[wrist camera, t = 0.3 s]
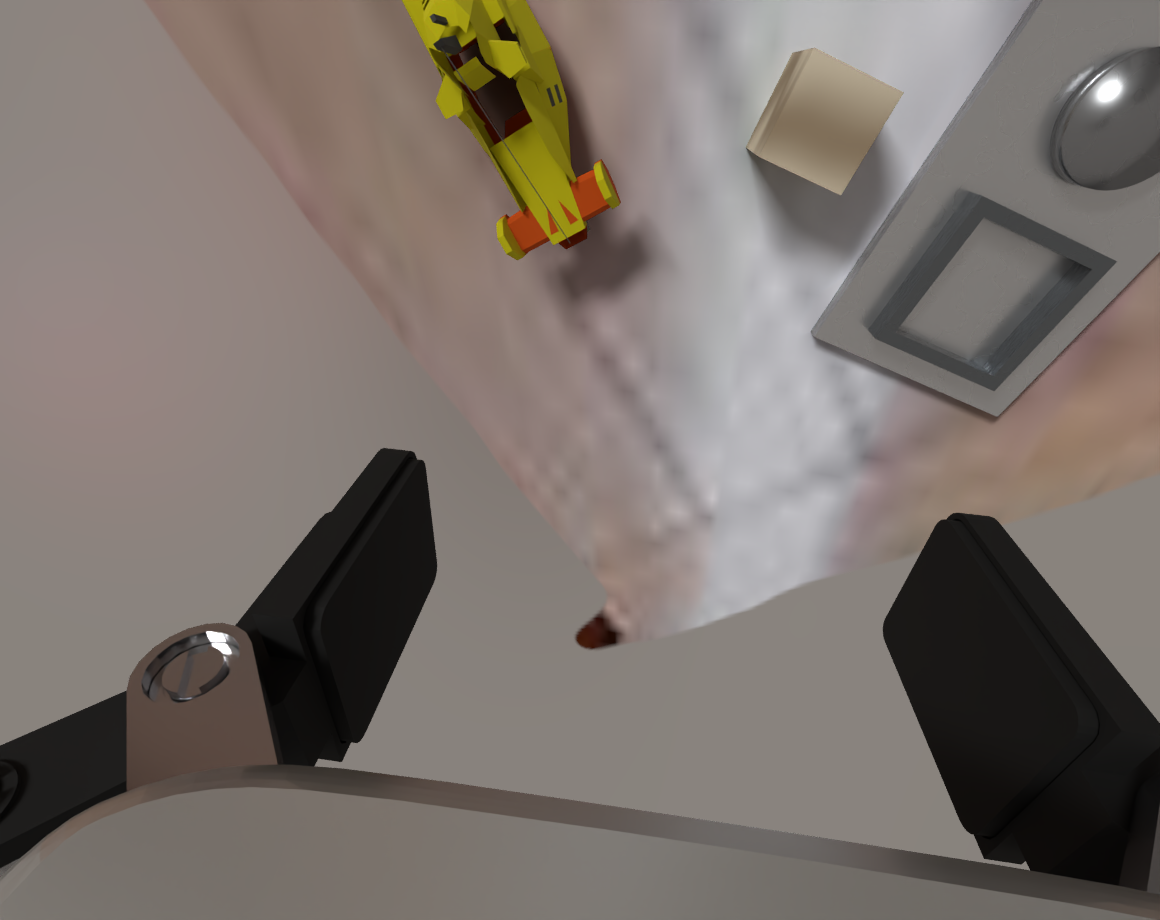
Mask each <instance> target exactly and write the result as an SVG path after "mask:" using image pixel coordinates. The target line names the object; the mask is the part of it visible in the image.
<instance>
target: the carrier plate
mask: <svg viewBox="0 0 1160 920" xmlns="http://www.w3.org/2000/svg"><path fill="white" fill-rule="evenodd" d="M1159 252H1160V0H1033V1H1032V3H1031V4H1030V6H1029V7H1028V8H1027V10H1026V11H1025V13H1024V14H1023V16H1022V17H1021V19H1020V20H1019V22H1018V23H1017V25H1016V26H1015V28H1014V29H1013V31H1012V32H1011V34H1010V35H1009V37H1008V38H1007V40H1006V41H1005V43H1004V44H1003V46H1002V47H1001V49H1000V50H999V52H998V53H997V55H996V56H995V58H994V59H993V61H992V62H991V64H990V65H989V67H988V68H987V70H986V71H985V73H984V74H983V75H982V77H981V78H980V80H979V81H978V83H977V84H976V86H975V87H974V89H973V90H972V92H971V93H970V95H969V96H968V98H967V99H966V101H965V102H964V104H963V105H962V107H961V108H960V110H959V111H958V113H957V114H956V116H955V117H954V119H953V120H952V122H951V123H950V125H949V126H948V128H947V129H946V131H945V132H944V134H943V135H942V137H941V138H940V140H939V141H938V143H937V144H936V145H935V147H934V148H933V150H932V151H931V153H930V154H929V156H928V157H927V159H926V160H925V162H924V163H923V165H922V166H921V168H920V169H919V171H918V172H917V174H916V175H915V177H914V178H913V180H912V181H911V183H910V184H909V186H908V187H907V189H906V190H905V192H904V193H903V195H902V196H901V198H900V199H899V201H898V202H897V204H896V205H895V207H894V208H893V210H892V211H891V213H890V214H889V215H888V217H887V218H886V220H885V221H884V223H883V224H882V226H881V227H880V229H879V230H878V232H877V233H876V235H875V236H874V238H873V239H872V241H871V242H870V244H869V245H868V247H867V248H866V250H865V251H864V253H863V254H862V256H861V257H860V259H859V260H858V262H857V263H856V265H855V266H854V268H853V269H852V271H851V272H850V274H849V275H848V277H847V278H846V280H845V281H844V282H843V284H842V285H841V287H840V288H839V290H838V291H837V293H836V294H835V296H834V297H833V299H832V300H831V302H830V303H829V305H828V306H827V308H826V309H825V311H824V312H823V314H822V315H821V317H820V318H819V320H818V321H817V323H816V324H815V326H814V327H813V329H812V330H811V332H812V334H813V336H814V337H815V338H818V339H820V340H822V341H825V342H827V343H829V344H832V345H834V346H836V347H838V348H841V349H843V350H845V351H848V352H850V353H852V354H854V355H857V356H859V357H861V358H864V359H866V360H868V361H870V362H873V363H875V364H877V365H880V366H882V367H884V368H886V369H889V370H891V371H893V372H896V373H898V374H900V375H902V376H905V377H907V378H909V379H912V380H914V381H916V382H919V383H921V384H923V385H925V386H928V387H930V388H932V389H935V390H937V391H939V392H941V393H944V394H946V395H948V396H951V397H953V398H955V399H957V400H960V401H962V402H964V403H967V404H969V405H971V406H973V407H976V408H978V409H980V410H983V411H985V412H987V413H990V414H992V415H994V416H996V417H998V416H999V415H1000V414H1001V413H1002V412H1003V411H1004V410H1005V409H1006V408H1007V407H1008V406H1009V405H1010V404H1011V403H1012V402H1013V401H1014V400H1015V399H1016V398H1017V397H1018V396H1019V395H1020V394H1021V392H1022V391H1023V390H1024V389H1025V388H1026V387H1027V386H1028V385H1029V384H1030V383H1031V382H1032V381H1033V380H1034V379H1035V378H1036V377H1037V376H1038V375H1039V374H1040V373H1041V372H1042V371H1043V370H1044V369H1045V368H1046V367H1047V366H1048V365H1049V364H1050V363H1051V362H1052V361H1053V360H1054V359H1055V358H1056V357H1057V356H1058V355H1059V354H1060V353H1061V352H1062V351H1063V350H1064V349H1065V348H1066V347H1067V346H1068V345H1069V344H1070V343H1071V342H1072V341H1073V340H1074V339H1075V338H1076V337H1077V335H1078V334H1079V333H1080V332H1081V331H1082V330H1083V329H1084V328H1085V327H1086V326H1087V325H1088V324H1089V323H1090V322H1091V321H1092V320H1093V319H1094V318H1095V317H1096V316H1097V315H1098V314H1099V313H1100V312H1101V311H1102V310H1103V309H1104V308H1105V307H1106V306H1107V305H1108V304H1109V303H1110V302H1111V301H1112V300H1113V299H1114V298H1115V297H1116V296H1117V295H1118V294H1119V293H1120V292H1121V291H1122V290H1123V289H1124V288H1125V287H1126V286H1127V285H1128V284H1129V283H1130V282H1131V281H1132V280H1133V278H1134V277H1135V276H1136V275H1137V274H1138V273H1139V272H1140V271H1141V270H1142V269H1143V268H1144V267H1145V266H1146V265H1147V264H1148V263H1149V262H1150V261H1151V260H1152V259H1153V258H1154V257H1155V256H1156V255H1157V254H1158V253H1159Z"/></svg>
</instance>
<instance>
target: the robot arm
mask: <svg viewBox="0 0 1160 920" xmlns="http://www.w3.org/2000/svg"><path fill="white" fill-rule="evenodd" d="M436 572H437V559H436V550H435V542H434V533H433V526H432V517H431V508H430V500H429V491H428V483H427V474H426V467H425V463H424V461H423V460H417V458H416V456H415V453H414V452H412V451H405V450H396V449H387V448H383V449H381V450H380V451H379V452H378V453H377V454H376V455H375V457H374V458H373V459H372V460H371V462H370V463H369V464H368V465H367V467H366V468H365V469H364V471H363V472H362V473H361V475H360V476H359V477H358V478H357V480H356V481H355V482H354V483H353V485H352V486H351V487H350V489H349V490H348V491H347V493H346V494H345V495H344V497H343V498H342V499H341V500H340V501H339V503H338V504H337V505H336V507H335V508H334V509H333V511H332V512H329V513H326V514H325V515H324V516H323V517H322V518H320V520H319V521H318V522H317V523H316V525H315V526H314V527H313V528H312V530H311V531H310V532H309V534H308V535H307V536H306V537H305V539H304V540H303V541H302V542H301V543H300V545H299V546H298V547H297V549H296V550H295V551H294V552H293V554H292V555H291V556H290V557H289V559H288V560H287V561H286V562H285V564H284V565H283V566H282V567H281V569H280V570H279V571H278V573H277V574H276V575H275V576H274V578H273V579H272V580H271V581H270V583H269V584H268V585H267V586H266V588H265V589H264V590H263V592H262V593H261V594H260V595H259V596H258V598H257V599H256V600H255V602H254V603H253V604H252V605H251V607H250V608H249V609H248V610H247V612H246V613H245V614H244V615H243V617H242V618H241V619H240V621H239V622H238V623H237V624H236V625H235V626H234V625H229V624H225V623H216V624H204V625H200V626H196V627H193V628H188V629H186V630H184V631H182V632H180V633H177V634H175V635H173V636H171V637H169V638H167V639H166V640H164V641H163V642H161V643H160V644H159V645H157V646H155V647H154V648H153V649H152V650H151V651H150V652H149V653H148V654H146V655H145V657H143V658H142V659H141V660H140V661H139V663H138V664H137V666H136V667H135V669H134V671H133V672H132V674H131V675H130V678H129V682H128V687H127V691H125V692H122V693H120V694H118V695H115V696H113V697H111V698H109V699H106V700H104V701H102V702H99V703H97V704H95V705H93V706H90V707H88V708H86V709H83V710H81V711H79V712H76V713H74V714H72V715H70V716H67V717H65V718H63V719H60V720H58V721H56V722H54V723H51V724H49V725H47V726H44V727H42V728H40V729H37V730H35V731H33V732H31V733H28V734H26V735H24V736H22V737H19V738H17V739H15V740H12V741H10V742H8V743H5V744H3V745H1V746H0V920H1160V723H1159V722H1158V721H1157V719H1156V718H1155V717H1154V716H1153V714H1152V713H1151V712H1150V711H1149V709H1148V708H1147V707H1146V706H1145V704H1144V703H1143V702H1142V701H1141V699H1140V698H1139V697H1138V696H1137V694H1136V693H1135V692H1134V691H1133V689H1132V688H1131V687H1130V686H1129V684H1128V683H1127V682H1126V681H1125V679H1124V678H1123V677H1122V676H1121V675H1120V673H1119V672H1118V671H1117V669H1116V668H1115V667H1114V666H1113V664H1112V663H1111V662H1110V661H1109V659H1108V658H1107V657H1106V656H1105V654H1104V653H1103V652H1102V651H1101V649H1100V648H1099V647H1098V646H1097V644H1096V643H1095V642H1094V641H1093V639H1092V638H1091V637H1090V636H1089V634H1088V633H1087V632H1086V631H1085V629H1084V628H1083V627H1082V626H1081V625H1080V623H1079V622H1078V621H1077V620H1076V618H1075V617H1074V616H1073V614H1072V613H1071V612H1070V611H1069V609H1068V608H1067V607H1066V606H1065V604H1064V603H1063V602H1062V601H1061V599H1060V598H1059V597H1058V596H1057V594H1056V593H1055V592H1054V591H1053V589H1052V588H1051V587H1050V586H1049V584H1048V583H1047V582H1046V581H1045V579H1044V578H1043V577H1042V576H1041V574H1040V573H1039V572H1038V571H1037V569H1036V568H1035V567H1034V566H1033V564H1032V563H1031V562H1030V561H1029V559H1028V558H1027V557H1026V556H1025V555H1024V553H1023V552H1022V551H1021V549H1020V548H1019V547H1018V546H1017V545H1016V543H1015V542H1014V541H1013V539H1012V538H1011V537H1010V536H1009V534H1008V533H1007V532H1006V531H1005V529H1004V528H1003V527H1002V526H1001V524H1000V523H999V522H998V521H997V520H996V519H995V518H993V517H990V516H982V515H973V514H964V513H953V514H952V515H950V516H949V517H948V518H947V519H946V520H941V521H939V522H938V523H937V524H936V526H935V528H934V530H933V531H932V533H931V535H930V537H929V539H928V541H927V542H926V544H925V546H924V548H923V550H922V552H921V554H920V555H919V557H918V559H917V561H916V563H915V565H914V567H913V568H912V570H911V572H910V574H909V576H908V578H907V579H906V581H905V583H904V585H903V587H902V589H901V591H900V592H899V594H898V596H897V598H896V600H895V602H894V604H893V605H892V607H891V609H890V611H889V613H888V615H887V616H886V618H885V621H884V624H883V636H884V640H885V643H886V645H887V647H888V650H889V652H890V655H891V657H892V659H893V662H894V664H895V666H896V669H897V671H898V673H899V676H900V678H901V681H902V683H903V686H904V688H905V691H906V692H907V695H908V697H909V700H910V702H911V705H912V707H913V710H914V712H915V714H916V717H917V719H918V722H919V724H920V726H921V729H922V731H923V733H924V736H925V738H926V741H927V743H928V746H929V748H930V750H931V752H932V755H933V757H934V760H935V762H936V765H937V767H938V769H939V772H940V774H941V777H942V779H943V781H944V784H945V786H946V789H947V791H948V793H949V796H950V798H951V800H952V803H953V805H954V808H955V810H956V813H957V815H958V817H959V820H960V822H961V823H962V825H963V827H964V828H965V829H966V831H968V832H969V833H970V834H974V836H975V839H976V841H977V843H978V846H979V848H980V850H981V853H982V855H983V857H984V859H989V860H995V861H1002V862H1009V863H1015V864H1022V863H1024V862H1025V861H1026V862H1027V864H1028V866H1029V868H1030V871H1029V870H1024V869H1017V868H1012V867H1006V866H1000V865H994V864H987V863H981V862H975V861H968V860H962V859H955V858H948V857H942V856H936V855H930V854H923V853H917V852H911V851H904V850H898V849H891V848H885V847H878V846H872V845H866V844H859V843H852V842H846V841H840V840H834V839H827V838H821V837H814V836H808V835H800V834H794V833H788V832H781V831H774V830H768V829H761V828H755V827H748V826H741V825H735V824H729V823H722V822H715V821H709V820H702V819H695V818H689V817H682V816H675V815H669V814H662V813H655V812H649V811H642V810H635V809H629V808H622V807H615V806H609V805H601V804H595V803H588V802H581V801H574V800H568V799H560V798H554V797H547V796H540V795H533V794H525V793H520V792H512V791H506V790H499V789H492V788H485V787H478V786H470V785H465V784H458V783H451V782H444V781H436V780H427V779H420V778H412V777H404V776H396V775H389V774H381V773H373V772H365V771H357V770H349V769H340V768H327V767H314V766H315V764H316V762H317V760H318V759H325V760H332V761H338V762H342V760H343V758H344V756H345V754H346V752H347V749H348V748H349V745H350V743H351V742H353V743H358V742H360V741H361V739H362V738H363V736H364V734H365V732H366V730H367V728H368V726H369V724H370V722H371V719H372V717H373V715H374V713H375V711H376V708H377V706H378V704H379V702H380V700H381V697H382V695H383V693H384V691H385V689H386V686H387V684H388V682H389V680H390V678H391V675H392V673H393V671H394V669H395V667H396V664H397V662H398V660H399V658H400V656H401V653H402V651H403V649H404V647H405V645H406V643H407V640H408V638H409V636H410V634H411V631H412V629H413V627H414V625H415V623H416V621H417V618H418V616H419V614H420V612H421V610H422V607H423V605H424V603H425V601H426V598H427V596H428V594H429V592H430V590H431V588H432V585H433V583H434V580H435V577H436Z"/></svg>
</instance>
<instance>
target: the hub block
mask: <svg viewBox="0 0 1160 920" xmlns="http://www.w3.org/2000/svg"><path fill="white" fill-rule="evenodd" d="M903 93H904V92H902V91H900V90H898V89H896V88H894V87H892V86H890V85H888V84H886V83H884V82H882V81H880V80H878V79H876V78H874V77H872V76H870V75H868V74H866V73H864V72H862V71H860V70H858V69H856V68H854V67H852V66H850V65H848V64H846V63H844V62H842V61H840V60H838V59H836V58H834V57H832V56H830V55H828V54H826V53H824V52H822V51H820V50H818V49H816V48H811V49H807V50H803V51H799V52H794V53H792V55H791V57H790V59H789V61H788V63H787V65H786V67H785V69H784V71H783V73H782V75H781V77H780V79H779V81H778V83H777V85H776V87H775V89H774V91H773V93H772V95H771V97H770V100H769V102H768V104H767V106H766V108H765V110H764V112H763V114H762V116H761V118H760V120H759V122H758V124H757V126H756V128H755V130H754V132H753V134H752V136H751V138H750V140H749V142H748V144H747V146H746V148H747V149H749V150H750V151H751V152H753V153H754V154H756V155H757V156H758V157H760V158H762V159H764V160H767V161H769V162H771V163H773V164H775V165H777V166H779V167H781V168H784V169H786V170H788V171H790V172H792V173H794V174H796V175H798V176H801V177H803V178H805V179H807V180H809V181H811V182H813V183H815V184H817V185H820V186H822V187H824V188H826V189H828V190H830V191H832V192H834V193H837V194H839V195H841V194H842V193H843V191H844V190H845V188H846V186H847V185H848V183H849V181H850V180H851V178H852V176H853V175H854V173H855V172H856V170H857V168H858V167H859V165H860V163H861V162H862V160H863V158H864V157H865V155H866V154H867V152H868V150H869V149H870V147H871V145H872V144H873V142H874V140H875V139H876V137H877V136H878V134H879V132H880V131H881V129H882V127H883V126H884V124H885V122H886V121H887V119H888V118H889V116H890V114H891V113H892V111H893V109H894V108H895V106H896V104H897V103H898V101H899V100H900V98H901V96H902V95H903Z"/></svg>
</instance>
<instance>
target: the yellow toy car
mask: <svg viewBox="0 0 1160 920" xmlns="http://www.w3.org/2000/svg"><path fill="white" fill-rule="evenodd" d="M402 2H403V4H404V5H405V7H406V9H407V11H408V13H409V15H410V17H411V19H412V21H413V23H414V25H415V27H416V29H417V31H418V33H419V34H420V36H421V38H422V40H423V42H424V44H425V46H426V48H427V50H428V52H429V54H430V56H431V58H432V60H433V62H434V64H435V65H436V67H437V69H438V71H439V73H440V75H441V77H442V85H441V87H440V90H439V93H438V96H437V99H436V102H437V104H438V106H439V108H440V109H441V111H442V113H443V115H444V117H445V119H447V118H449V117H451V116H453V115H455V114H457V116H458V118H459V119H460V120H461V121H462V122H463V123H464V124H465V125H466V126H467V127H468V128H469V129H470V131H471V132H472V133H473V135H474V136H475V138H476V139H477V141H478V142H479V143H480V145H481V146H482V148H483V149H484V151H485V152H486V153H487V154H488V155H489V156H490V158H491V160H492V162H493V163H494V165H495V167H496V169H497V170H498V172H499V174H500V175H501V177H502V179H503V181H504V182H505V184H506V186H507V188H508V189H509V191H510V193H511V195H512V196H513V198H514V200H515V201H516V203H517V205H518V207H519V208H520V211H519V212H517V213H516V214H514V215H513V216H511V217H509V216H508V215H507V214H506V215H504V216H503V217H501V218H500V219H499V221H498V222H497V224H496V226H497V238H498V240H499V242H500V244H501V245H502V247H503V249H504V251H505V252H506V254H507V255H509V256H511V257H512V258H514V259H516V260H519V259H521V258H523V257H524V256H525V255H526V254H527V253H528V252H529V251H531V250H533V249H535V248H537V247H538V246H540V245H542V244H544V243H546V242H548V241H551V242H552V244H553V245H555V244H557V243H559V244H560V245H562V246H563V247H564V248H565V249H568V248H570V247H572V246H574V245H575V244H577V243H579V242H581V241H583V240H585V239H587V232H588V231H590V230H591V229H590V227H589V225H588V223H587V220H588V219H590V218H592V217H594V216H596V215H597V214H599V213H601V212H603V211H605V210H607V209H608V208H610V207H611V208H612V209H613V208H615V207H617V206H619V205H620V203H621V201H620V198H619V196H618V193H617V190H616V187H615V185H614V183H613V181H612V178H611V176H610V174H609V172H608V169H607V168H606V166H605V164H604V163H603V161H602V159H601V160H599V161H597V162H596V163H595V164H594V167H593V168H594V169H593V170H591V171H589V172H587V173H585V174H583V175H581V176H579V177H577V178H576V177H575V174H574V172H573V170H572V167H571V156H570V141H569V125H568V110H567V99H566V95H565V92H564V89H563V86H562V82H561V79H560V76H559V73H558V69H557V66H556V63H555V60H554V56H553V53H552V50H551V47H550V45H549V43H548V41H547V39H546V37H545V36H544V34H543V32H542V30H541V28H540V26H539V24H538V22H537V21H536V19H535V17H534V15H533V13H532V11H531V9H530V7H529V6H528V4H527V2H526V0H402ZM503 22H505V23H506V25H507V27H510V29H511V31H512V33H513V34H514V33H515V34H516V36H517V38H518V40H519V42H520V45H521V47H520V46H519V43H518V42H515V41H501V40H500V38H499V36H498V34H497V31H496V29H495V28H497V27H498V26H499V25H501V24H502V23H503ZM477 41H478V45H479V48H480V52H481V54H482V56H483V58H484V60H485V62H486V63H487V64H488V65H490V66H491V67H493V68H495V69H496V70H498V71H499V72H501V73H502V74H505V75H506V76H507V77H508V78H509V79H510V78H511V77H512V76H513V78H514V80H516V81H517V83H516V87H517V89H518V91H519V93H520V96H521V98H522V100H523V103H524V105H525V107H526V108H525V109H524V110H522V111H520V112H519V113H517V114H516V115H514V116H513V117H511V118H510V119H508V120H507V121H505V139H504V140H503V139H502V137H501V136H500V134H499V132H498V131H497V129H496V128H495V126H494V124H493V123H492V121H491V120H490V118H489V116H488V115H487V113H486V112H485V110H484V108H483V107H482V105H481V104H480V102H479V100H478V97H477V95H476V93H475V91H476V90H477V89H479V88H480V87H482V86H483V85H485V84H486V83H488V82H489V81H491V80H492V79H493V78H495V77H496V76H495V75H494V74H492V73H491V72H490V71H489V70H488V69H486V68H485V67H484V66H483V65H481V63H480V62H479V60H478V59H477V57H476V56H475V57H474V58H473V59H471V60H470V61H469V62H467V63H466V64H464V65H463V63H462V60H461V58H460V56H459V53H461V52H463V51H465V50H466V49H468V48H469V47H470V46H472V45H473V44H475V43H476V42H477ZM537 88H538V89H537ZM538 90H539V91H538Z"/></svg>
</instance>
